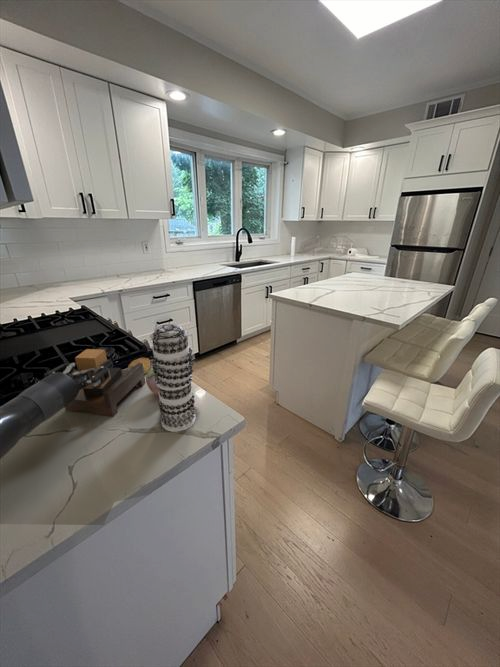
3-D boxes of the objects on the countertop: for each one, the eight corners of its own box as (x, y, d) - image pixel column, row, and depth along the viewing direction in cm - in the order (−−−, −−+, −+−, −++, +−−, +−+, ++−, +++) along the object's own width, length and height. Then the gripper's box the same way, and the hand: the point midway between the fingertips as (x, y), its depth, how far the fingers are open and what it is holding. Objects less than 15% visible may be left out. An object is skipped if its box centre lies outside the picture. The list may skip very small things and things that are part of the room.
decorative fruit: (166, 382, 86) (162, 353, 82) (185, 389, 82) (182, 360, 79) (141, 397, 79) (135, 366, 75) (161, 406, 75) (157, 374, 71)
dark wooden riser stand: (65, 410, 73) (58, 387, 70) (104, 378, 88) (100, 359, 85) (113, 416, 71) (108, 393, 68) (145, 383, 85) (142, 363, 83)
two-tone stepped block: (103, 395, 73) (94, 358, 68) (84, 394, 73) (74, 357, 69) (122, 373, 83) (115, 340, 79) (105, 373, 83) (98, 339, 79)
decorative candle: (199, 429, 67) (192, 334, 57) (159, 436, 65) (145, 338, 55) (196, 406, 75) (189, 319, 66) (160, 411, 73) (148, 322, 63)
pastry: (135, 362, 98) (134, 352, 96) (155, 362, 98) (153, 352, 96) (126, 376, 89) (124, 366, 87) (147, 376, 89) (145, 366, 88)
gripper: (72, 386, 57) (121, 351, 72) (12, 379, 59) (72, 346, 74) (80, 416, 59) (125, 376, 75) (23, 408, 62) (78, 370, 77)
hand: (99, 361), depth 74 cm, fingers open, 6 cm apart
